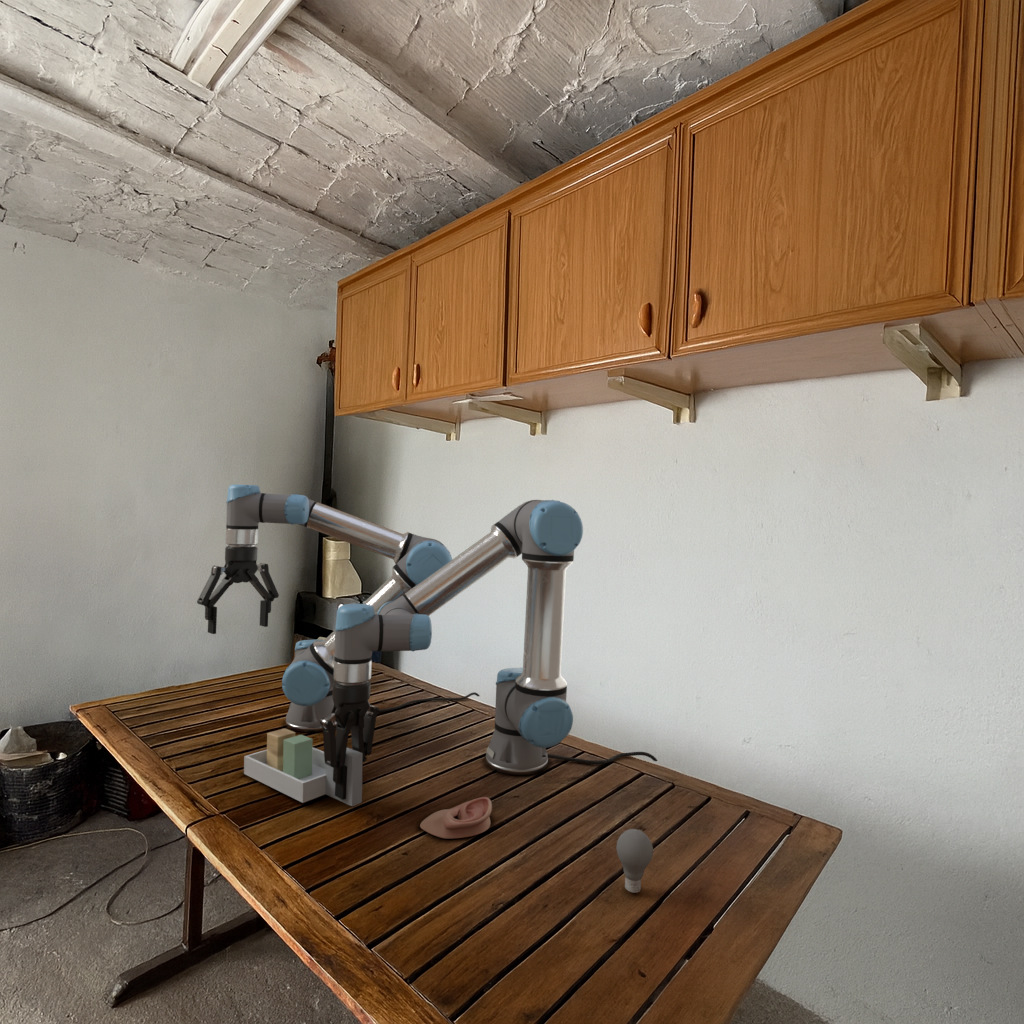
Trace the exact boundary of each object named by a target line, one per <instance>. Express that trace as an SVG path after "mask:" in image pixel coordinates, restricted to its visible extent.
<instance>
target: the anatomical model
mask: <svg viewBox="0 0 1024 1024" xmlns="http://www.w3.org/2000/svg"><path fill="white" fill-rule="evenodd" d="M492 804H493V803H492V800H491V799H490V798H489V797H487V796H482V797H478V798H474V799H471V800H467V801H465V802H463V803H460V804H459V805H458V804H457V805H456V806H454V807H451V808H446V809H441V810H437V811H435V812H433V813H431V814H430V815H428V816H427V817H426V818H424V819H423V820H422V821H421V822H420V824H419V827H420V829H421V830H423V831H424V832H425V833H428V834H430V835H432V836H434V837H437V838H441V839H446V840H448V839H451V840H453V839H461V838H462V839H463V838H468V837H469V838H470V837H473V836H477V835H480V834H482V833H484V832H486V831H488V829H490V827H491V817H490V816H491V814H492V811H493V805H492Z"/></svg>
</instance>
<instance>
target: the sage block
mask: <svg viewBox="0 0 1024 1024" xmlns="http://www.w3.org/2000/svg"><path fill="white" fill-rule="evenodd" d="M312 747H313V738H312V737H308V736H306V735H303V734H298V735H295V737H291V738H288V739H284V740H283V772H284V773H286V774H288V775H290V776H293V777H295V778H297V779H301V778H304V777H307V776H310V775H312Z"/></svg>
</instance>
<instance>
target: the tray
mask: <svg viewBox="0 0 1024 1024" xmlns="http://www.w3.org/2000/svg"><path fill="white" fill-rule="evenodd" d="M344 765H345V766H347V786H346V799H344V800H342V799H340V798H338V797H337V796H335V782H334V781H333V767H331V766H329V765H327V764H325V759H324V750H321V749H318V748H316V747H313V746H312V775H310V776H307V777H304V778H301V779H297V778H295V777H293V776H290V775H288V774H286V773H284V772H283V771H279V770H277V769H275V768H273V767H271V766H268V765H267V749H264V750H260V751H257V752H254V753H250V754H246V755H244V756H243V774H244V775H245V776H247V777H249V778H251V779H254V780H255V781H257V782H259V783H261V784H264V785H266V786H267V787H270V788H272V789H274V790H276V791H278V792H280V793H282V794H284V795H286V796H287V797H290V798H292V799H294V800H296V801H298V802H299V803H302V804H304V803H306V802H309V801H312V800H314V799H317V798H320V797H322V796H325V795H326V796H328V797H330V798H333V799H334V800H337V801H339V802H340V803H341V802H342V803H343V804H345V805H348V806H350V807H354V806H357V805H359V804H362V803H363V767H362V753H361V752H358V751H355V750H353V749H352V748H350V747H347V749H346V756H345V763H344Z"/></svg>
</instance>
